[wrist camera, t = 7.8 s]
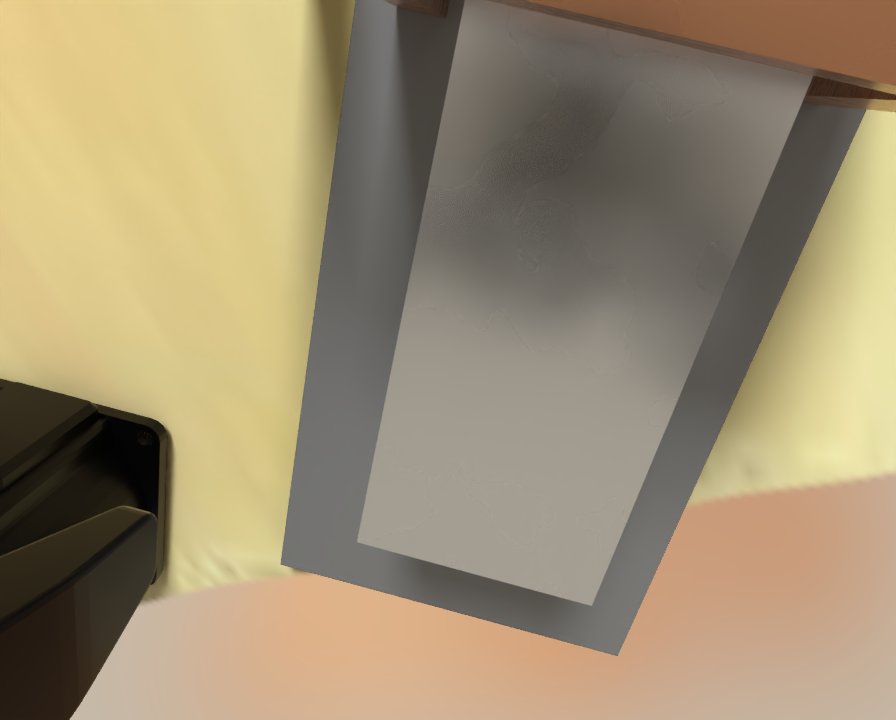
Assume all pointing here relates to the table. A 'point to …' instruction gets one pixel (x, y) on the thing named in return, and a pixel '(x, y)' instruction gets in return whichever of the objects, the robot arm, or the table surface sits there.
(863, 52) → the collar
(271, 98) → the table surface
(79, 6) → the table surface
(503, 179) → the grey long block
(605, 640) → the board
